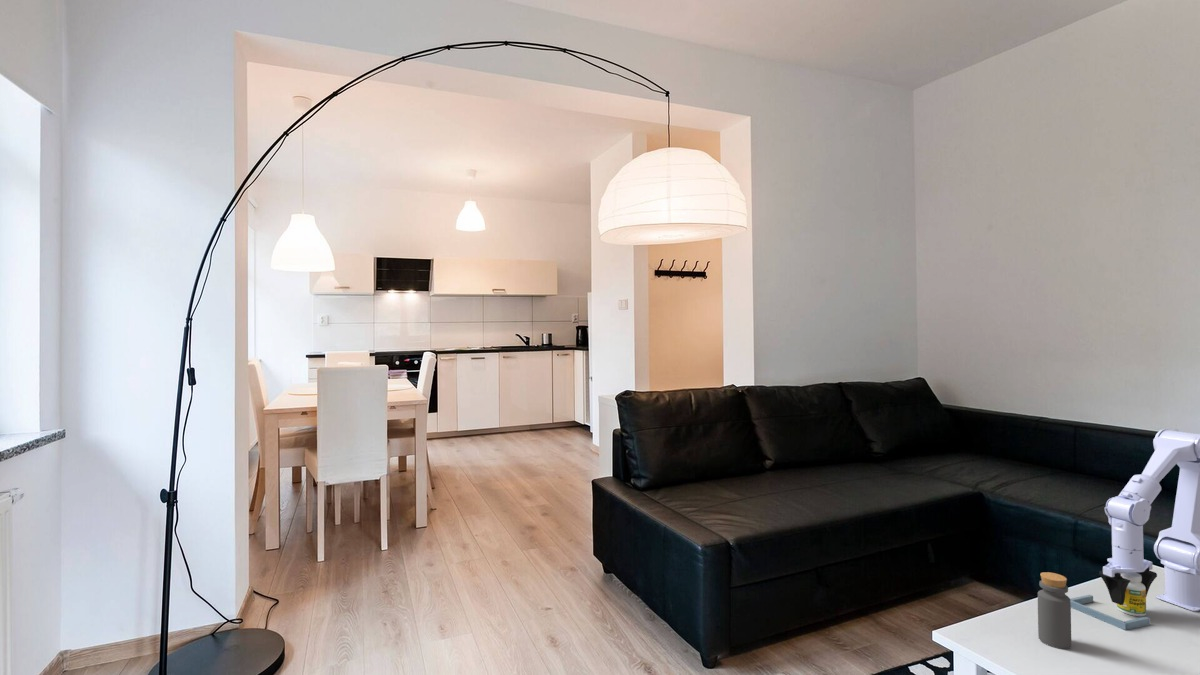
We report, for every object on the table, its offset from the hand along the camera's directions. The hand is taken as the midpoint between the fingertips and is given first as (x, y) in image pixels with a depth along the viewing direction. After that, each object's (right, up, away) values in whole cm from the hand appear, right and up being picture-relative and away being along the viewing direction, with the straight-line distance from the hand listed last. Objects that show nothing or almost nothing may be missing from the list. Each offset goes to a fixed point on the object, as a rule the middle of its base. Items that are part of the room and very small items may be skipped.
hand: (1128, 600), depth 139 cm
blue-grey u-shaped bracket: (-6, -3, -1) cm, 7 cm away
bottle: (-29, -4, -12) cm, 31 cm away
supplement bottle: (+1, -3, 0) cm, 3 cm away
